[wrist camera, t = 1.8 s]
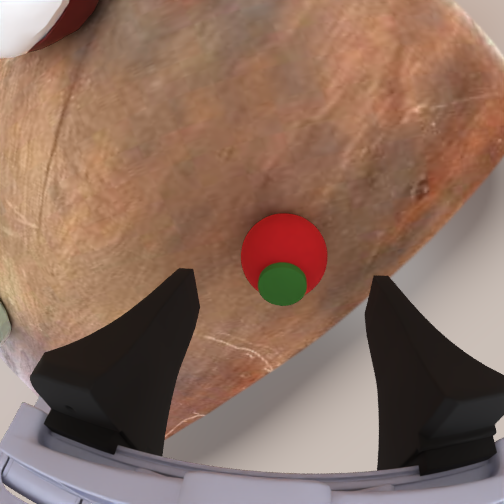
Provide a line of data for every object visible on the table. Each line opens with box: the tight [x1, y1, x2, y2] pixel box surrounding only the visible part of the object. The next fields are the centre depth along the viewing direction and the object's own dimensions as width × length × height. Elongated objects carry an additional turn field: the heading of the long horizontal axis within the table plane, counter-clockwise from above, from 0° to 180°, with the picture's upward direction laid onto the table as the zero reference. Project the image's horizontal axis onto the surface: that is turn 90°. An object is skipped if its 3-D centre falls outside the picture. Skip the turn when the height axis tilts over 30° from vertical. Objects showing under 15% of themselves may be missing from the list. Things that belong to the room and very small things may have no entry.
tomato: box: [241, 213, 327, 306], centre depth 15 cm, size 4×4×4 cm
